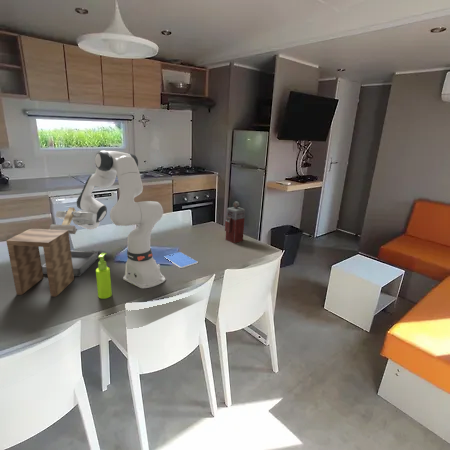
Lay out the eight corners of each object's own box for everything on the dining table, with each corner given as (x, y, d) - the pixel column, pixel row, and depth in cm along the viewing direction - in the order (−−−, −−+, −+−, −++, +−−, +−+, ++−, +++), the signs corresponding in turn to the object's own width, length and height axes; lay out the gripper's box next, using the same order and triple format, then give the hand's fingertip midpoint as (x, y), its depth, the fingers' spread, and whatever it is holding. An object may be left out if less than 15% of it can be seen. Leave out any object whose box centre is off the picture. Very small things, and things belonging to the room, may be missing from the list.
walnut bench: (38, 277, 150) (30, 228, 142) (74, 279, 150) (68, 230, 142) (16, 294, 135) (6, 240, 127) (56, 296, 135) (48, 242, 127)
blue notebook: (162, 258, 180) (162, 256, 180) (180, 253, 189) (180, 251, 188) (180, 269, 167) (180, 267, 167) (198, 263, 175) (198, 261, 175)
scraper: (62, 209, 163) (59, 205, 160) (84, 210, 163) (81, 207, 160) (52, 232, 155) (48, 229, 152) (75, 234, 155) (72, 230, 152)
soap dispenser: (114, 290, 142) (111, 251, 136) (109, 298, 135) (106, 258, 129) (101, 290, 141) (98, 251, 135) (96, 298, 135) (92, 257, 129)
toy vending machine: (222, 240, 212) (224, 201, 203) (234, 237, 219) (236, 199, 210) (231, 244, 205) (233, 204, 197) (243, 240, 213) (245, 202, 204)
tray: (64, 256, 175) (63, 250, 174) (98, 258, 175) (97, 251, 174) (41, 273, 154) (40, 266, 153) (80, 275, 154) (79, 268, 153)
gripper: (64, 212, 174) (50, 205, 160) (99, 214, 173) (88, 207, 160) (62, 222, 172) (48, 217, 159) (98, 224, 172) (87, 219, 158)
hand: (69, 212), depth 159 cm, fingers closed on scraper, 2 cm apart
